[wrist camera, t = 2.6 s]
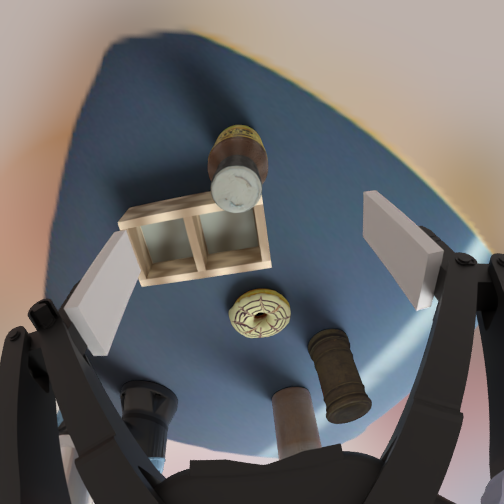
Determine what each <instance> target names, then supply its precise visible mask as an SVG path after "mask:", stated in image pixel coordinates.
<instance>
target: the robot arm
mask: <svg viewBox="0 0 504 504" xmlns="http://www.w3.org/2000/svg"><path fill="white" fill-rule="evenodd" d="M363 237H364V239H365V240H366V241H367V243H368V244H369V245H370V247H371V248H372V249H373V250H374V252H375V253H376V254H377V256H378V257H379V258H380V260H381V261H382V263H383V264H384V265H385V267H386V268H387V269H388V271H389V272H390V273H391V275H392V276H393V278H394V279H395V280H396V282H397V283H398V285H399V286H400V288H401V289H402V290H403V292H404V293H405V295H406V296H407V298H408V299H409V301H410V302H411V303H412V305H413V306H414V308H415V309H416V311H417V310H421V309H424V308H428V307H431V304H432V300H433V297H434V296H435V297H436V298H437V300H438V305H437V308H436V311H435V315H434V318H433V324H432V328H431V331H430V335H429V339H428V342H427V345H426V349H425V352H424V355H423V358H422V361H421V364H420V367H419V370H418V373H417V376H416V379H415V382H414V385H413V387H412V390H411V393H410V395H409V398H408V400H407V403H406V405H405V408H404V410H403V413H402V415H401V417H400V420H399V422H398V424H397V426H396V429H395V431H394V433H393V435H392V437H391V439H390V441H389V443H388V445H387V447H386V449H385V451H384V452H383V454H382V456H381V458H380V459H377V458H375V457H373V456H370V455H367V454H363V453H358V452H350V451H342V448H341V444H336V445H331V446H326V447H322V448H316V449H311V450H306V451H302V452H300V453H297V454H295V455H292V456H289V457H287V458H284V459H281V460H279V461H276V462H273V463H270V464H267V465H258V464H251V463H244V462H237V461H231V460H190V469H186V470H183V471H181V472H178V473H176V474H174V475H171V476H170V477H168V478H167V479H166V478H165V477H164V476H163V475H162V472H163V467H164V462H165V452H166V442H167V431H168V426H169V424H170V422H171V420H172V418H173V416H174V414H175V412H176V411H177V406H178V399H177V397H176V395H175V394H174V393H173V392H172V391H170V390H169V389H167V388H166V387H164V386H161V385H159V384H156V383H153V382H148V381H130V382H127V383H126V384H124V385H123V387H122V390H121V394H120V398H121V407H122V414H123V415H122V418H121V417H120V415H119V413H118V412H117V410H116V409H115V407H114V405H113V403H112V402H111V400H110V398H109V397H108V395H107V393H106V391H105V390H104V388H103V386H102V384H101V382H100V380H99V379H98V377H97V375H96V373H95V371H94V369H93V367H92V365H91V363H90V361H89V359H88V357H87V356H86V355H85V351H86V349H87V347H88V349H89V350H90V351H91V353H92V354H93V356H107V355H108V353H109V350H110V347H111V344H112V342H113V339H114V336H115V334H116V331H117V328H118V326H119V323H120V321H121V318H122V315H123V313H124V310H125V308H126V305H127V303H128V301H129V298H130V296H131V293H132V291H133V289H134V286H135V284H136V282H137V279H138V277H139V275H140V272H141V269H140V267H139V264H138V262H137V259H136V256H135V254H134V251H133V248H132V245H131V243H130V240H129V237H128V234H127V231H126V230H122V231H118V232H114V233H113V235H112V236H111V237H110V239H109V240H108V242H107V243H106V244H105V246H104V247H103V249H102V250H101V251H100V253H99V254H98V256H97V257H96V259H95V260H94V262H93V263H92V265H91V266H90V268H89V269H88V271H87V272H86V274H85V275H84V277H83V278H82V279H81V280H80V281H79V282H78V283H77V284H76V285H74V287H73V288H72V290H71V291H70V294H69V295H68V296H67V299H65V301H64V303H63V304H62V306H61V308H60V309H59V311H57V309H56V307H55V306H54V304H53V302H52V301H51V299H43V300H40V301H39V302H37V303H36V304H34V305H33V306H32V307H31V308H30V310H29V312H28V317H29V319H30V320H31V322H32V323H33V325H34V326H35V328H36V330H37V331H35V332H32V333H29V334H28V332H27V331H26V329H25V328H24V327H23V326H19V327H16V328H14V329H12V330H11V331H10V332H9V333H8V335H7V336H6V339H5V342H4V346H3V351H2V356H1V362H0V504H93V502H94V503H95V504H455V503H454V502H452V501H450V500H448V499H446V498H444V497H442V496H440V495H439V494H438V492H439V489H440V487H441V485H442V482H443V480H444V477H445V475H446V472H447V469H448V467H449V464H450V461H451V458H452V455H453V452H454V449H455V446H456V443H457V439H458V436H459V433H460V430H461V426H462V422H463V413H461V412H460V408H461V403H462V399H463V394H464V390H465V386H466V381H467V376H468V370H469V364H470V358H471V352H472V345H473V336H474V328H475V318H476V315H477V320H478V324H479V329H480V334H481V340H482V346H483V353H484V360H485V368H486V376H487V386H488V399H489V417H490V418H489V420H490V448H489V450H490V451H489V456H490V458H489V459H490V462H489V463H490V464H489V465H490V478H491V480H490V481H489V483H488V485H487V486H486V489H485V492H484V494H483V496H482V497H481V504H504V254H499V253H497V254H493V255H492V256H491V258H490V262H489V264H477V261H476V260H475V259H474V258H473V257H472V256H470V255H468V254H465V253H460V252H458V253H455V252H454V251H453V250H452V249H451V248H449V247H448V246H447V245H446V244H445V243H444V242H443V241H441V239H440V238H439V237H438V236H437V237H436V235H435V234H434V233H433V232H432V231H431V230H429V229H427V228H425V227H423V226H417V225H416V224H415V223H414V222H413V221H412V220H410V219H409V218H408V217H407V216H406V215H405V214H404V213H402V212H401V211H400V210H399V209H398V208H397V207H395V206H394V205H393V204H392V203H391V202H389V201H388V200H387V199H386V198H385V197H383V196H382V195H381V194H380V193H378V192H377V191H367V192H364V205H363ZM56 401H57V403H58V406H59V411H58V413H56Z"/></svg>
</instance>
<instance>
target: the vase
mask: <svg viewBox="0 0 504 504" xmlns="http://www.w3.org/2000/svg"><path fill="white" fill-rule="evenodd" d="M272 406H273V414H274V422H275V430H276V439H277V447H278V455H279V460H281V459H284V458H287V457H289V456H292V455H295V454H297V453H300V452H302V451H306V450H311V449H316V448H322V447H321V442H320V437H319V432H318V428H317V423H316V418H315V414H314V409H313V405H312V400H311V396H310V392H309V391H308V390H307V389H305V388H302V387H289V388H285V389H282V390H280V391H278V392H276V393H275V394H274V395H273V397H272Z"/></svg>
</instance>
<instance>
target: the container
mask: <svg viewBox="0 0 504 504" xmlns="http://www.w3.org/2000/svg"><path fill="white" fill-rule="evenodd" d="M308 352H309V354H310V357H311V359H312V360H313V361H314V364H315V369H316V371H317V373H318V377H319V381H320V385H321V389H322V392H323V396H324V402H325V403H326V412H327V413H326V418H327V420H328V421H329V422H331V423H334V424H342V423H348V422H351V421H354V420H356V419H358V418H360V417H362V416H364V415H365V414H366V413H367V412H368V411H369V410H370V409H371V406H372V402H371V400H370V398H368V395H367V394H366V393H365V387H364V385H363V384H362V381H361V378H360V376H359V373H358V370H357V368H356V365H355V363H354V360H353V354H352V352H351V350H350V343H349V339H348V337H347V335H346V334H345V333H344V332H343V331H341V330H338V329H327V330H323V331H321V332H319V333H317V334H316V335H314V336H313V337H312V338H311V340H310V342H309V344H308Z"/></svg>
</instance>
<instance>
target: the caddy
mask: <svg viewBox="0 0 504 504" xmlns="http://www.w3.org/2000/svg"><path fill="white" fill-rule="evenodd" d="M118 225H119V228H120V231H122V230H126V231H127V234H128V237H129V240H130V243H131V245H132V248H133V251H134V254H135V256H136V259H137V262H138V264H139V267H140V269H141V272H140V275H139V277H138V279H139V281H140V284H141V286H142V287H144V286H151V285H158V284H165V283H172V282H179V281H186V280H193V279H200V278H207V277H213V276H220V275H227V274H233V273H240V272H246V271H253V270H259V269H266V268H272V266H271V259H270V251H269V244H268V237H267V230H266V222H265V215H264V208H263V201H262V195H261V197H260V199H259V201H258V203H257V204H256V205H255V206H254V207H253V208H251V209H250V210H247V211H245V212H241V213H232V212H228V211H225V210H223V209H221V208H220V207H219V206H218V205H217V204H216V203H215V201H214V200H213V198H212V195H211V191H209V192H204V193H198V194H193V195H188V196H183V197H178V198H173V199H168V200H163V201H158V202H153V203H149V204H144V205H140V206H135V207H131V208H129V209H128V210H127V211H126V213H125V214H124V215H123V216H122V218H121V219H120V220H119V221H118Z"/></svg>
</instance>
